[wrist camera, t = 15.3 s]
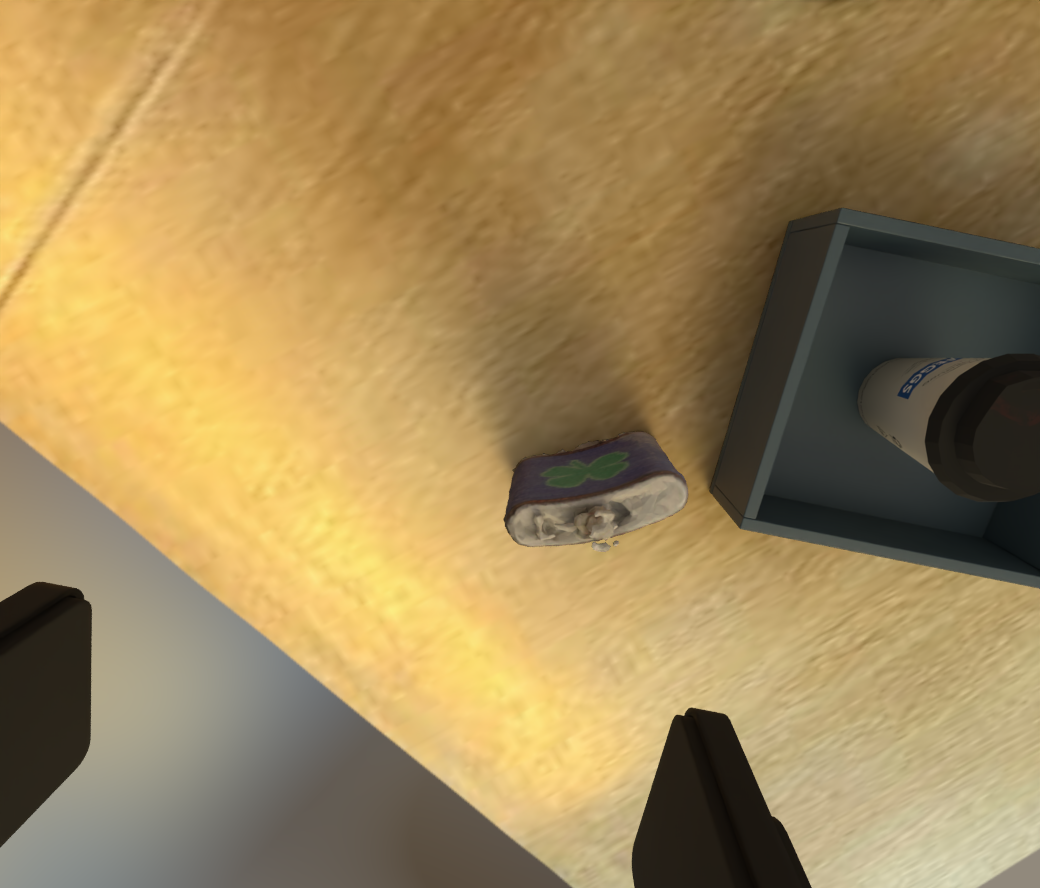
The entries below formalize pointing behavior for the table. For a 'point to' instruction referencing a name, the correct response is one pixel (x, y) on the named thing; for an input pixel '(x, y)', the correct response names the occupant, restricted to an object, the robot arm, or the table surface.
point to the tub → (840, 373)
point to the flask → (593, 492)
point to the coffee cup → (962, 420)
